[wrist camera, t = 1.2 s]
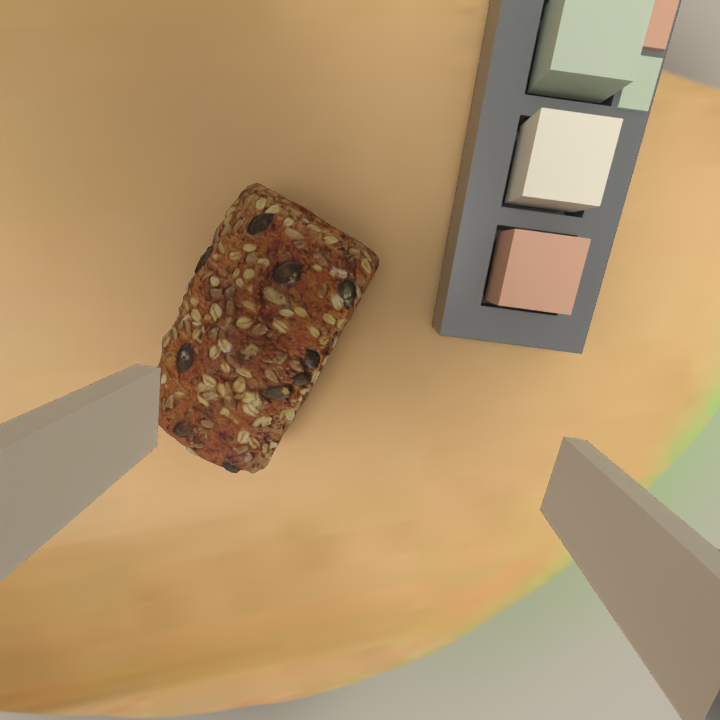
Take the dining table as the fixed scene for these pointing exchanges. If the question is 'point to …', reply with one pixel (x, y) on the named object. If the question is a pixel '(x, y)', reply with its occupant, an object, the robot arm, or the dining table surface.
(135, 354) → the dining table surface
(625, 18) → the key sage
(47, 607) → the dining table surface
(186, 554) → the dining table surface
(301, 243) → the bread
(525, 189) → the key cream
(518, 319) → the keypad board
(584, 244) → the key terracotta
